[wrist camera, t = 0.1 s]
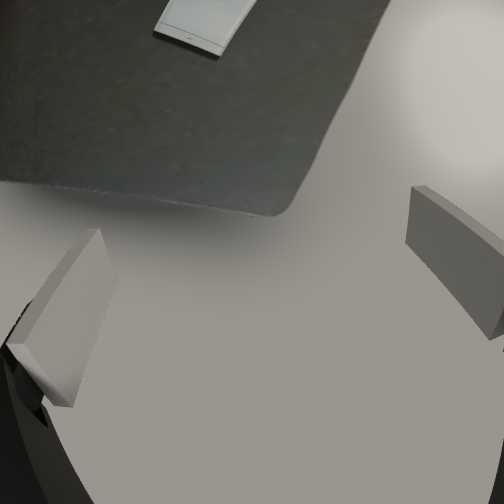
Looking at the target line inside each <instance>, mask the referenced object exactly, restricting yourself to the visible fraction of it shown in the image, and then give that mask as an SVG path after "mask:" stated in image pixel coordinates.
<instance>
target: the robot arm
mask: <svg viewBox="0 0 504 504" xmlns="http://www.w3.org/2000/svg"><path fill="white" fill-rule="evenodd" d="M405 243H406V244H407V245H408V246H409V247H410V248H411V249H412V250H413V251H414V252H415V253H416V255H417V256H418V257H419V258H420V259H421V260H422V261H423V262H424V263H425V264H426V265H427V266H428V268H430V270H431V271H432V272H433V273H434V274H435V275H436V276H437V278H438V279H439V280H440V281H441V282H442V283H443V284H444V286H445V287H446V288H447V289H448V290H449V291H450V292H451V294H452V295H453V296H454V297H455V298H456V300H457V301H458V302H459V303H460V304H461V306H462V307H463V308H464V309H465V310H466V312H467V313H468V314H469V315H470V317H471V318H472V319H473V320H474V322H475V323H476V324H477V325H478V327H479V328H480V329H481V330H482V332H483V333H484V334H485V336H486V337H487V338H488V340H489V341H490V340H492V339H494V338H496V337H499V336H501V335H503V334H504V241H503V240H502V239H500V238H499V237H498V236H496V235H495V234H494V233H492V232H491V231H490V230H488V229H487V228H486V227H485V226H483V225H482V224H481V223H479V222H478V221H476V220H475V219H474V218H473V217H471V216H470V215H468V214H467V213H466V212H464V211H463V210H461V209H460V208H458V207H457V206H455V205H454V204H453V203H451V202H450V201H448V200H447V199H445V198H444V197H442V196H440V195H439V194H438V193H436V192H435V191H433V190H431V189H430V188H428V187H427V186H412V187H411V198H410V208H409V218H408V226H407V235H406V242H405ZM118 284H119V282H118V279H117V277H116V274H115V272H114V269H113V266H112V264H111V261H110V258H109V255H108V252H107V250H106V247H105V244H104V241H103V238H102V235H101V232H100V229H99V228H96V229H90V230H85V231H83V233H82V234H81V235H80V236H79V237H78V239H77V240H76V241H75V243H74V244H73V245H72V247H71V248H70V249H69V250H68V252H67V253H66V254H65V255H64V257H63V258H62V259H61V261H60V262H59V263H58V265H57V266H56V268H55V269H54V270H53V272H52V273H51V274H50V276H49V277H48V279H47V280H46V281H45V283H44V284H43V286H42V287H41V289H40V290H39V292H38V293H37V295H36V296H35V298H34V299H33V300H32V301H31V302H30V303H28V304H27V306H26V307H25V309H24V310H23V312H22V313H21V317H19V318H18V320H17V321H16V325H14V326H13V328H12V329H11V331H10V333H9V334H8V336H7V338H6V339H5V341H4V343H3V345H2V346H1V348H0V504H94V503H93V501H92V500H91V498H90V497H89V495H88V493H87V491H86V490H85V488H84V486H83V484H82V483H81V481H80V479H79V477H78V476H77V474H76V472H75V470H74V468H73V466H72V464H71V462H70V460H69V458H68V456H67V454H66V452H65V450H64V448H63V446H62V444H61V442H60V440H59V437H58V435H57V433H56V431H55V428H54V426H53V424H52V421H51V419H50V416H49V414H48V411H47V409H46V408H45V407H44V405H43V404H42V403H41V402H42V399H43V396H44V395H45V396H46V397H47V398H48V399H49V400H50V402H51V403H52V404H53V405H54V406H62V407H73V405H74V402H75V398H76V395H77V392H78V389H79V386H80V383H81V379H82V377H83V374H84V371H85V368H86V365H87V362H88V360H89V357H90V354H91V351H92V348H93V346H94V343H95V341H96V338H97V335H98V333H99V330H100V327H101V325H102V322H103V320H104V318H105V315H106V313H107V310H108V308H109V305H110V303H111V300H112V298H113V296H114V293H115V291H116V289H117V286H118ZM503 352H504V350H503ZM488 504H504V441H503V446H502V452H501V457H500V461H499V466H498V470H497V474H496V478H495V482H494V486H493V490H492V493H491V496H490V500H489V503H488Z"/></svg>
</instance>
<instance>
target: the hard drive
mask: <svg viewBox="0 0 504 504" xmlns="http://www.w3.org/2000/svg"><path fill="white" fill-rule="evenodd" d="M256 1H257V0H170V1H169V3H168V4H167V6H166V8H165V10H164V12H163V13H162V15H161V17H160V19H159V21H158V23H157V25H156V27H155V29H154V30H155V31H157V32H160V33H163V34H165V35H168V36H171V37H174V38H176V39H179V40H182V41H184V42H187V43H189V44H192V45H194V46H197V47H199V48H202V49H204V50H206V51H209V52H211V53H213V54H216V55H218V56H221V55H222V53H223V52H224V50H225V48H226V46H227V45H228V43H229V42H230V40H231V39H232V37H233V35H234V34H235V32H236V31H237V29H238V28H239V26H240V25H241V23H242V22H243V20H244V19H245V17H246V16H247V14H248V13H249V11H250V10H251V8H252V7H253V5H254V4H255V2H256Z"/></svg>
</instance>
